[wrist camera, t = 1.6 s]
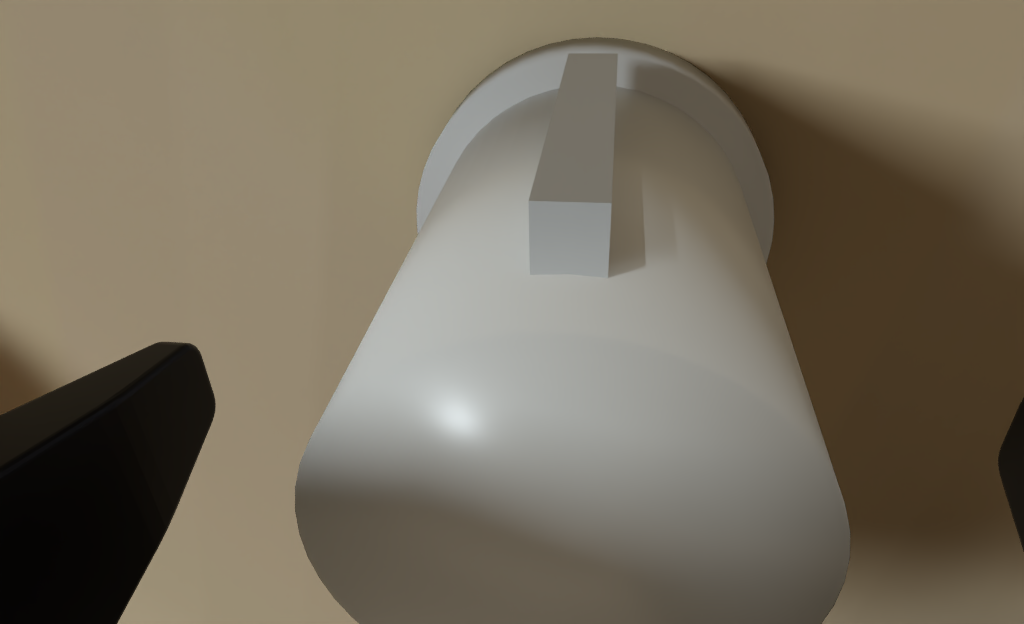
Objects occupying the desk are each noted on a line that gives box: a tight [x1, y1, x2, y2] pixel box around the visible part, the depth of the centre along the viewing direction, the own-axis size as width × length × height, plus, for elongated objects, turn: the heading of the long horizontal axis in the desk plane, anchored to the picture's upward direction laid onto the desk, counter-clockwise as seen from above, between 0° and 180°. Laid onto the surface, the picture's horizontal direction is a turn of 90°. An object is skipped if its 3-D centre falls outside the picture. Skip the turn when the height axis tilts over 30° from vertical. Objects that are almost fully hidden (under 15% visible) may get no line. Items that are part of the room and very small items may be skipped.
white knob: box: [295, 37, 850, 624], centre depth 9 cm, size 6×5×7 cm
